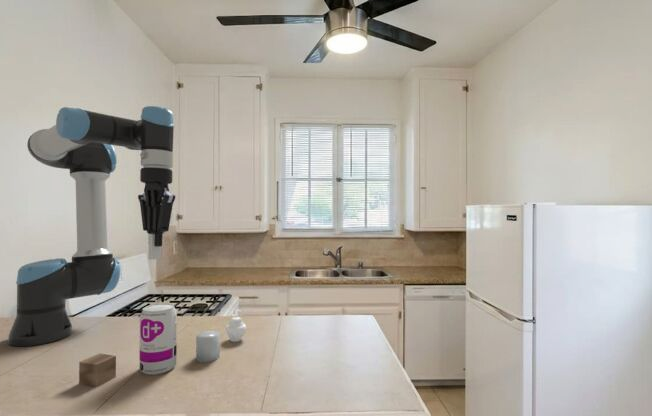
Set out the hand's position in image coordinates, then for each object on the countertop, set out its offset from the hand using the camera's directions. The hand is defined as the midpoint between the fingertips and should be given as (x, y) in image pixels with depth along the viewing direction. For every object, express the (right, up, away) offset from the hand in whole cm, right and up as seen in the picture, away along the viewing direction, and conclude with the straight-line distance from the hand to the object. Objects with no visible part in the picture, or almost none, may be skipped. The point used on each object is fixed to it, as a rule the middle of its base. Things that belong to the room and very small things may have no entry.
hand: (155, 258), depth 91 cm
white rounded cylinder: (+13, -27, +2) cm, 30 cm away
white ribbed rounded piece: (+17, -27, +15) cm, 35 cm away
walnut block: (-8, -26, -11) cm, 30 cm away
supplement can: (+3, -27, -5) cm, 27 cm away
